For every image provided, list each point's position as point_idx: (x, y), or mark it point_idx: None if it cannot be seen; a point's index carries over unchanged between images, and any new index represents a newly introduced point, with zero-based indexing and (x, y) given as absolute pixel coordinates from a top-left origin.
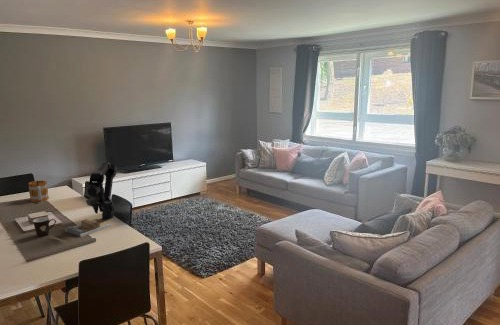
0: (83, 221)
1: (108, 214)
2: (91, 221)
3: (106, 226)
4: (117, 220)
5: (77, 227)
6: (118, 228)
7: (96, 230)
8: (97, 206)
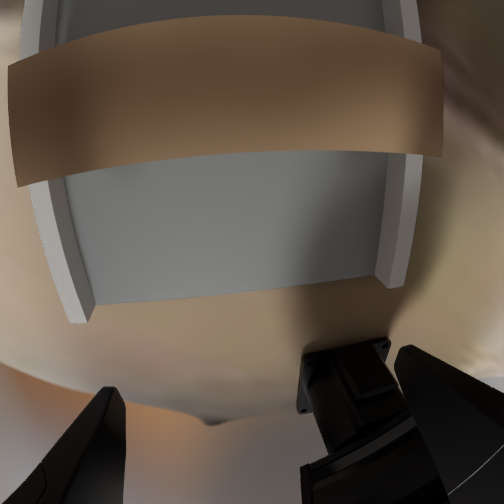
0: (394, 46)
1: (330, 421)
2: (252, 118)
3: (52, 253)
4: (243, 408)
5: (389, 10)
6: (24, 319)
7: None
8: (453, 473)
